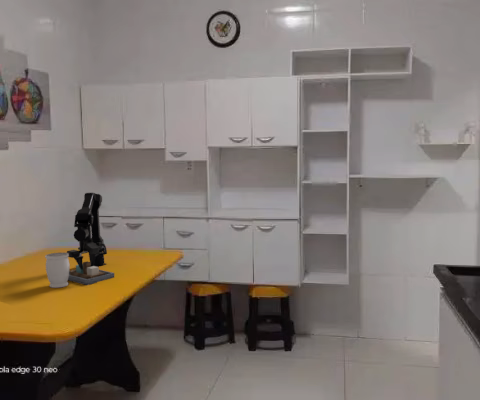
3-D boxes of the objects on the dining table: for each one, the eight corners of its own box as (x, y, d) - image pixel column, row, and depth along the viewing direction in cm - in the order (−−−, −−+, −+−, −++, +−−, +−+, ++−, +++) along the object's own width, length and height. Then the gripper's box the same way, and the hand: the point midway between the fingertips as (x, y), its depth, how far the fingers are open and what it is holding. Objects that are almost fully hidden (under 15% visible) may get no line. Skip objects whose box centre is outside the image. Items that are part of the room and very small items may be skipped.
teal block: (76, 273, 250) (75, 265, 250) (83, 271, 253) (82, 263, 253) (80, 274, 248) (80, 266, 247) (87, 272, 251) (87, 264, 250)
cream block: (87, 275, 245) (86, 267, 244) (93, 273, 248) (93, 265, 247) (92, 276, 242) (91, 268, 242) (99, 274, 245) (98, 266, 245)
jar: (75, 283, 238) (73, 252, 237) (61, 289, 228) (59, 257, 227) (57, 282, 242) (55, 251, 240) (42, 287, 232) (40, 256, 230)
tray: (60, 278, 249) (60, 273, 248) (87, 271, 261) (87, 267, 261) (87, 285, 235) (87, 279, 234) (114, 277, 247) (114, 272, 247)
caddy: (70, 275, 250) (69, 261, 249) (83, 271, 256) (82, 258, 256) (91, 280, 239) (90, 266, 238) (105, 276, 245) (104, 262, 245)
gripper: (78, 241, 233) (80, 274, 235) (110, 235, 248) (112, 266, 250) (64, 239, 240) (66, 271, 242) (97, 233, 255) (98, 263, 256)
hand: (86, 268), depth 247 cm, fingers open, 6 cm apart
